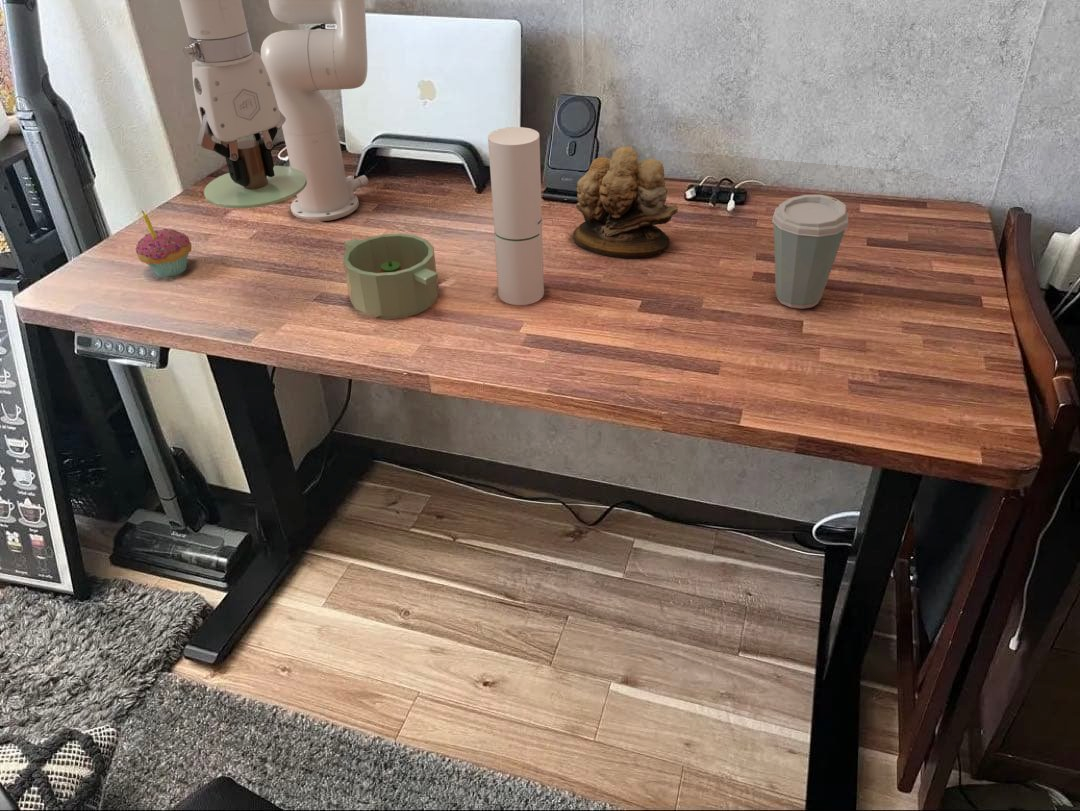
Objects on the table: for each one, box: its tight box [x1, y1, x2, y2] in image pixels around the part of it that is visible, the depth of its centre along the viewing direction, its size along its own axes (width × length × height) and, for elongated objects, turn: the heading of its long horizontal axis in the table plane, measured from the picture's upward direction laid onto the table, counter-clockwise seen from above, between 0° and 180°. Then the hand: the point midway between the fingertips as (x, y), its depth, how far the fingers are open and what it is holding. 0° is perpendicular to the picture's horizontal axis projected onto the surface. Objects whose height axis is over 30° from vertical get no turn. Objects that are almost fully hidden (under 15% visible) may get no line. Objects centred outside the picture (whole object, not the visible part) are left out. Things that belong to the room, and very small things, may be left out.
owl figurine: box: [572, 145, 679, 259], centre depth 140 cm, size 18×12×17 cm, turn 69°
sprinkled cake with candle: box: [135, 209, 192, 278], centre depth 138 cm, size 9×8×12 cm
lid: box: [203, 139, 307, 209], centre depth 123 cm, size 15×15×7 cm
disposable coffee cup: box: [771, 194, 849, 310], centre depth 125 cm, size 11×11×15 cm
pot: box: [342, 233, 439, 320], centre depth 131 cm, size 14×19×8 cm
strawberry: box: [379, 260, 403, 273], centre depth 131 cm, size 4×4×6 cm
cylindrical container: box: [487, 126, 545, 306], centre depth 125 cm, size 7×7×25 cm
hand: (254, 178), depth 124 cm, fingers closed on lid, 3 cm apart
